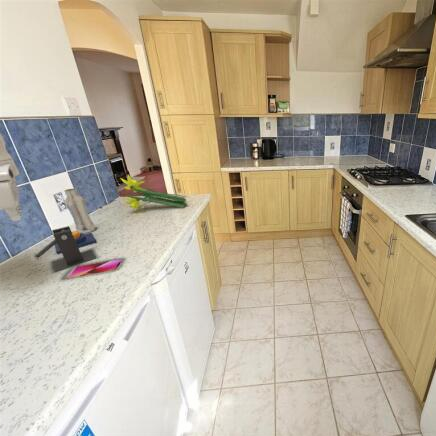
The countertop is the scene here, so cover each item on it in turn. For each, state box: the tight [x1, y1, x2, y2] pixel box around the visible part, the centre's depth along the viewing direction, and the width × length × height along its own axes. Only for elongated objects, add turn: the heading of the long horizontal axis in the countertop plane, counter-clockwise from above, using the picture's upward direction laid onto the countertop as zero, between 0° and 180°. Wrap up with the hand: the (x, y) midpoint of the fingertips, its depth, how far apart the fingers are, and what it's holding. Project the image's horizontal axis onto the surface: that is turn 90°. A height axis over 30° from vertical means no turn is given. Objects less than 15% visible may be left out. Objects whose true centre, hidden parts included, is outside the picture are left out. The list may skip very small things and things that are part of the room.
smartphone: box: [66, 258, 124, 280], centre depth 81 cm, size 7×1×15 cm
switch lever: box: [31, 229, 66, 264], centre depth 80 cm, size 12×5×2 cm
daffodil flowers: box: [119, 174, 187, 209], centre depth 132 cm, size 17×15×35 cm
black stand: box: [52, 225, 97, 273], centre depth 83 cm, size 11×9×13 cm
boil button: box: [71, 230, 81, 239], centre depth 95 cm, size 4×4×2 cm
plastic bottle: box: [64, 188, 96, 234], centre depth 104 cm, size 6×7×20 cm
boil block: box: [54, 232, 98, 255], centre depth 96 cm, size 12×10×4 cm
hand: (17, 215), depth 74 cm, fingers open, 8 cm apart
